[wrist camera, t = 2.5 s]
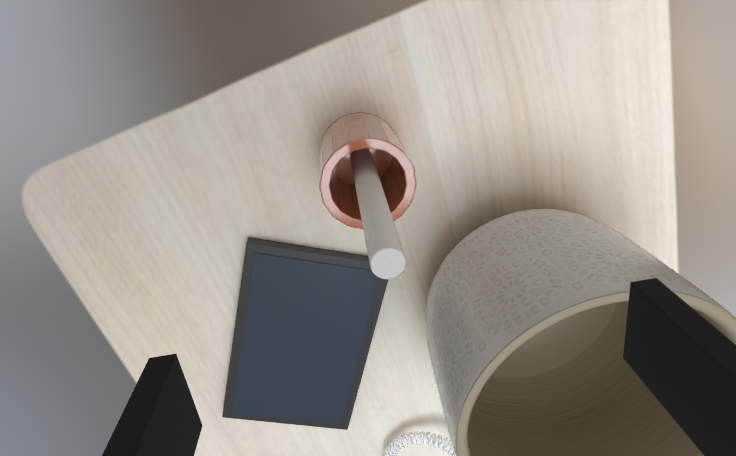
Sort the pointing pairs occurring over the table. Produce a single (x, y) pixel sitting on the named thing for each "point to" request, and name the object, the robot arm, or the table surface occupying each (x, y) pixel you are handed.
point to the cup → (387, 158)
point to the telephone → (414, 441)
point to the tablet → (301, 334)
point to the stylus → (376, 218)
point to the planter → (549, 340)
